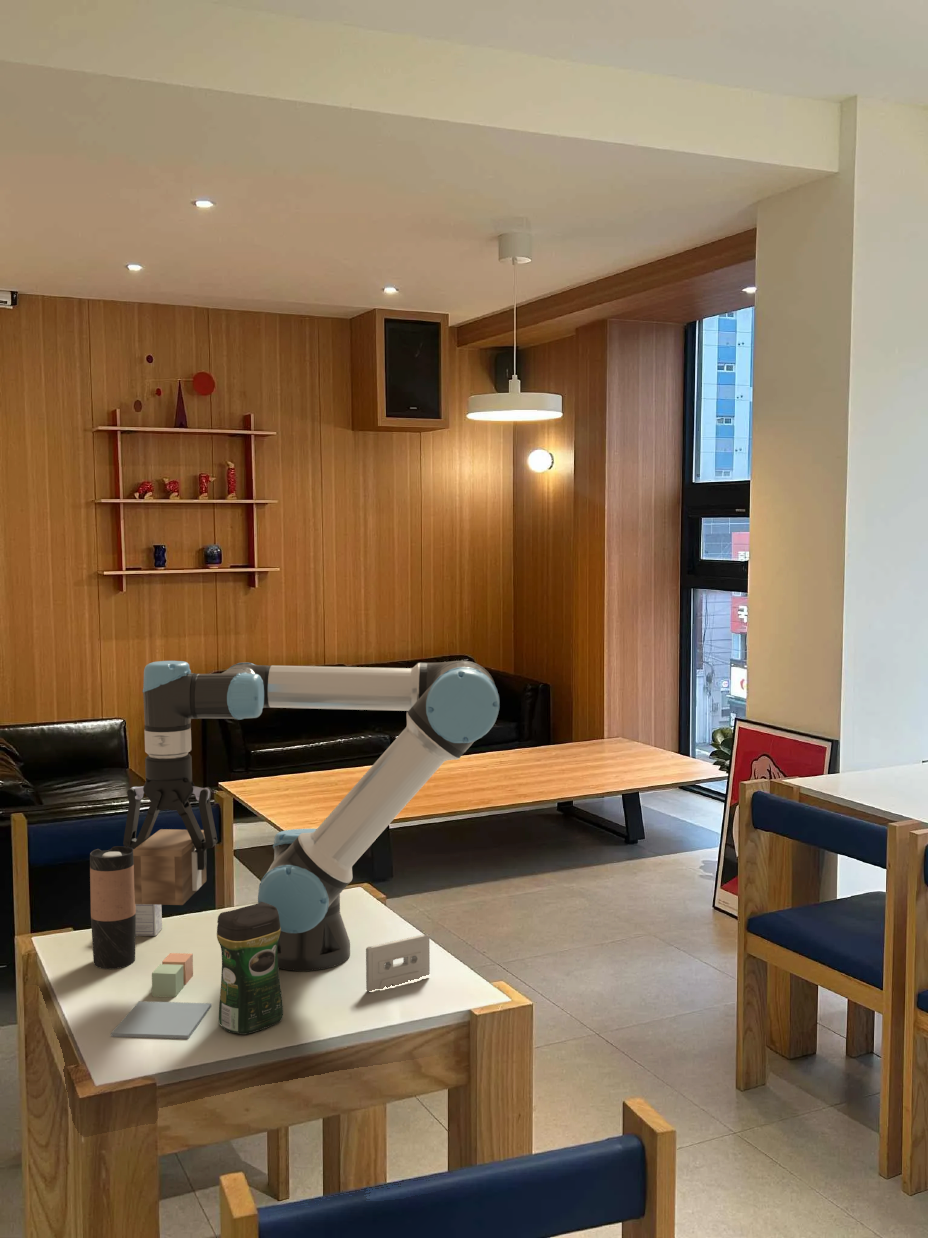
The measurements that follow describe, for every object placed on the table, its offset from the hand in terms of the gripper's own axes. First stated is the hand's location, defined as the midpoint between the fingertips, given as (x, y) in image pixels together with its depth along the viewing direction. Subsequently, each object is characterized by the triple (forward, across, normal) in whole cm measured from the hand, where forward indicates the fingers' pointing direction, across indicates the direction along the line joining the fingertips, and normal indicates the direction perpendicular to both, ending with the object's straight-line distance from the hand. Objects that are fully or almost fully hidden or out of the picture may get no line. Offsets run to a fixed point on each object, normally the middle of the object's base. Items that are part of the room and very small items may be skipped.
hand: (171, 887), depth 194 cm
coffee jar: (+17, +17, -14) cm, 28 cm away
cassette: (+17, +38, +3) cm, 42 cm away
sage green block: (+17, 0, -3) cm, 17 cm away
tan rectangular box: (+1, 0, 0) cm, 1 cm away
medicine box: (+17, -15, +25) cm, 34 cm away
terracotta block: (+17, 0, +3) cm, 17 cm away
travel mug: (+17, -14, +10) cm, 24 cm away
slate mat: (+17, +3, -14) cm, 22 cm away
